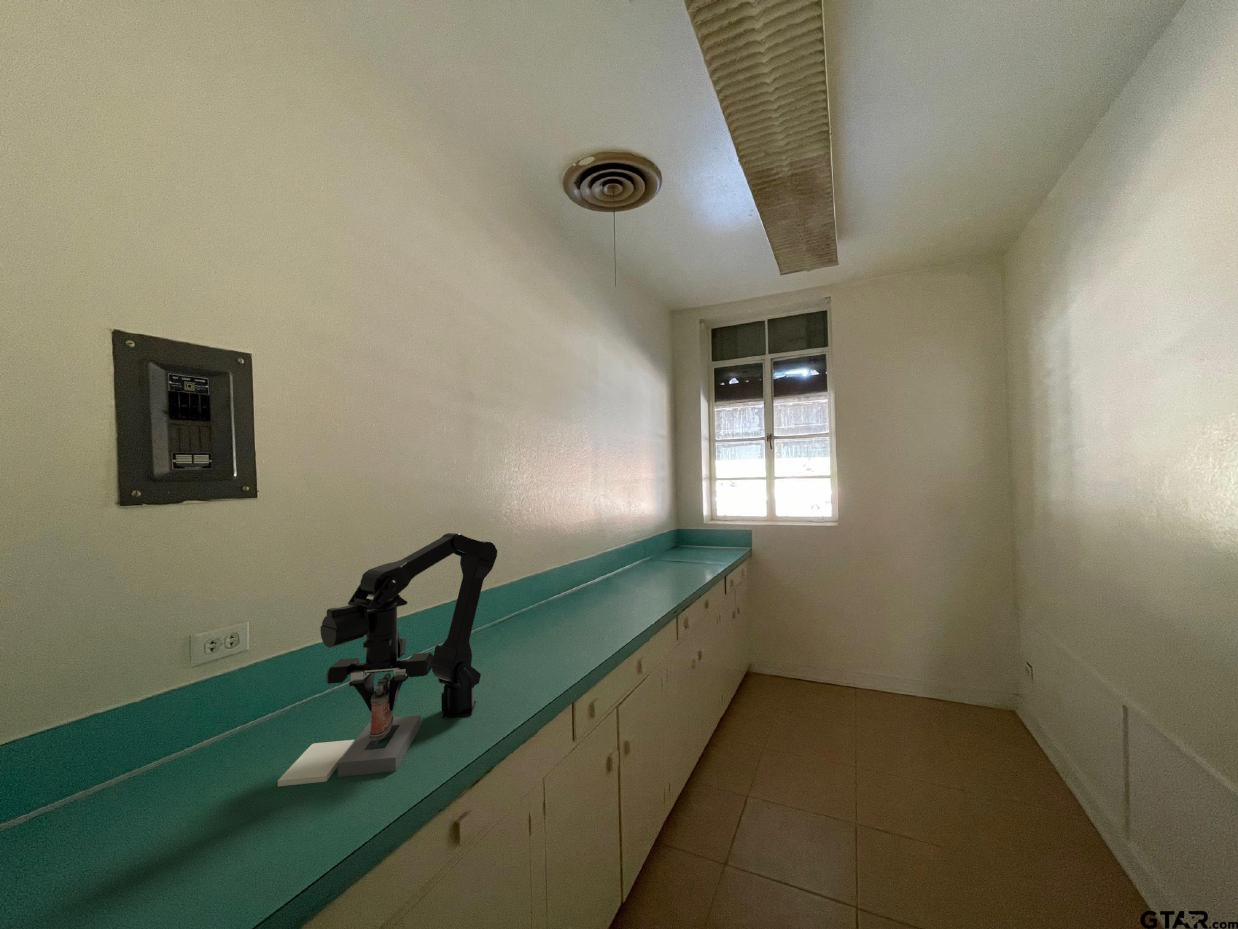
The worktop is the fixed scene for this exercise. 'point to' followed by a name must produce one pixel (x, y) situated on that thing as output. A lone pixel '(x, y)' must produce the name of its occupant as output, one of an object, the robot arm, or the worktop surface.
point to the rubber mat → (316, 763)
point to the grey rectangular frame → (386, 759)
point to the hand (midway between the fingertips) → (382, 710)
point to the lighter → (381, 710)
